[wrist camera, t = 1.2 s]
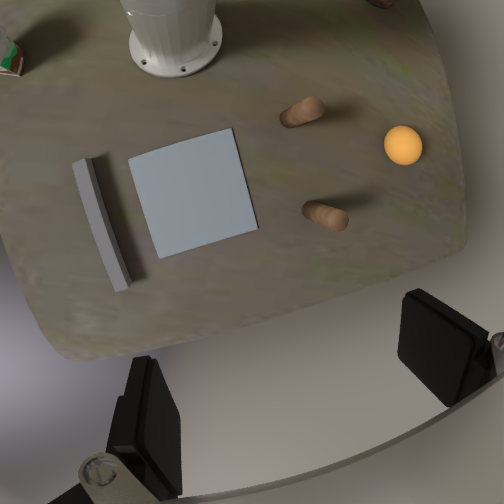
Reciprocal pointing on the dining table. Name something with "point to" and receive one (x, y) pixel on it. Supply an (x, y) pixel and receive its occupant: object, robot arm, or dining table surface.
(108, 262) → the wall
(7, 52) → the food container
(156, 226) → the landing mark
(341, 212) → the post
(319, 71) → the dining table surface
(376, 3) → the mortar and pestle
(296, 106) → the post
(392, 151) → the ball
